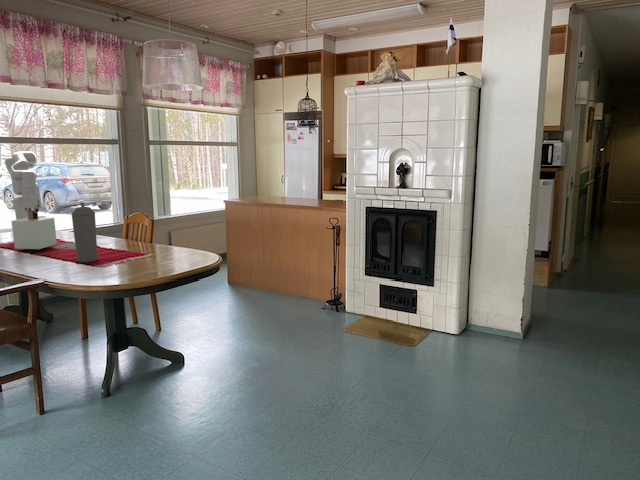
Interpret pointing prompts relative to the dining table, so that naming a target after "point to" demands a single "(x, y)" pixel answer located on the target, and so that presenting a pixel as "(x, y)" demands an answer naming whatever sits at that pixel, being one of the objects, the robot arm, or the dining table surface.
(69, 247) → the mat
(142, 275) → the dining table surface
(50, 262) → the dining table surface
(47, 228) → the cover
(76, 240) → the canister
